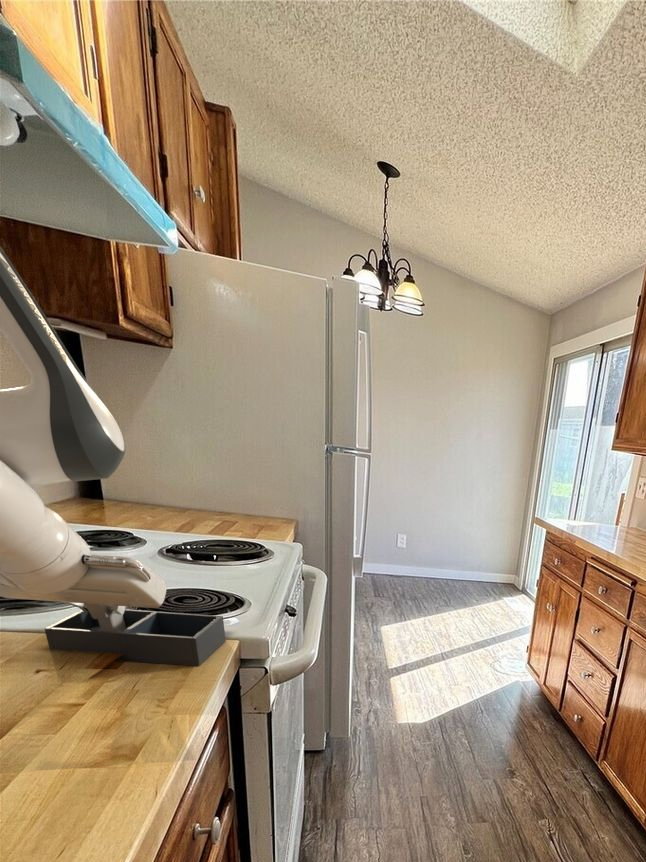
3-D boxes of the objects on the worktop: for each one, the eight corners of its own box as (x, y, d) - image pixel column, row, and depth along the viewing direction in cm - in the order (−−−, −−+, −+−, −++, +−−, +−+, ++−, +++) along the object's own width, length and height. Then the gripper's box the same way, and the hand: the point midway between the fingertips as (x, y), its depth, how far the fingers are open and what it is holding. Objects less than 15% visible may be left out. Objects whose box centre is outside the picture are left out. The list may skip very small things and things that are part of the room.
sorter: (51, 657, 74) (43, 628, 73) (94, 632, 83) (88, 606, 81) (199, 666, 77) (195, 638, 75) (225, 641, 85) (223, 616, 84)
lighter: (114, 631, 82) (100, 578, 78) (127, 631, 82) (114, 578, 79) (95, 649, 76) (79, 592, 72) (109, 648, 76) (94, 592, 73)
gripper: (143, 539, 67) (189, 594, 80) (-45, 523, 65) (34, 583, 77) (130, 584, 65) (180, 634, 78) (-65, 570, 62) (20, 623, 75)
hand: (106, 608), depth 78 cm, fingers closed on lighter, 2 cm apart
